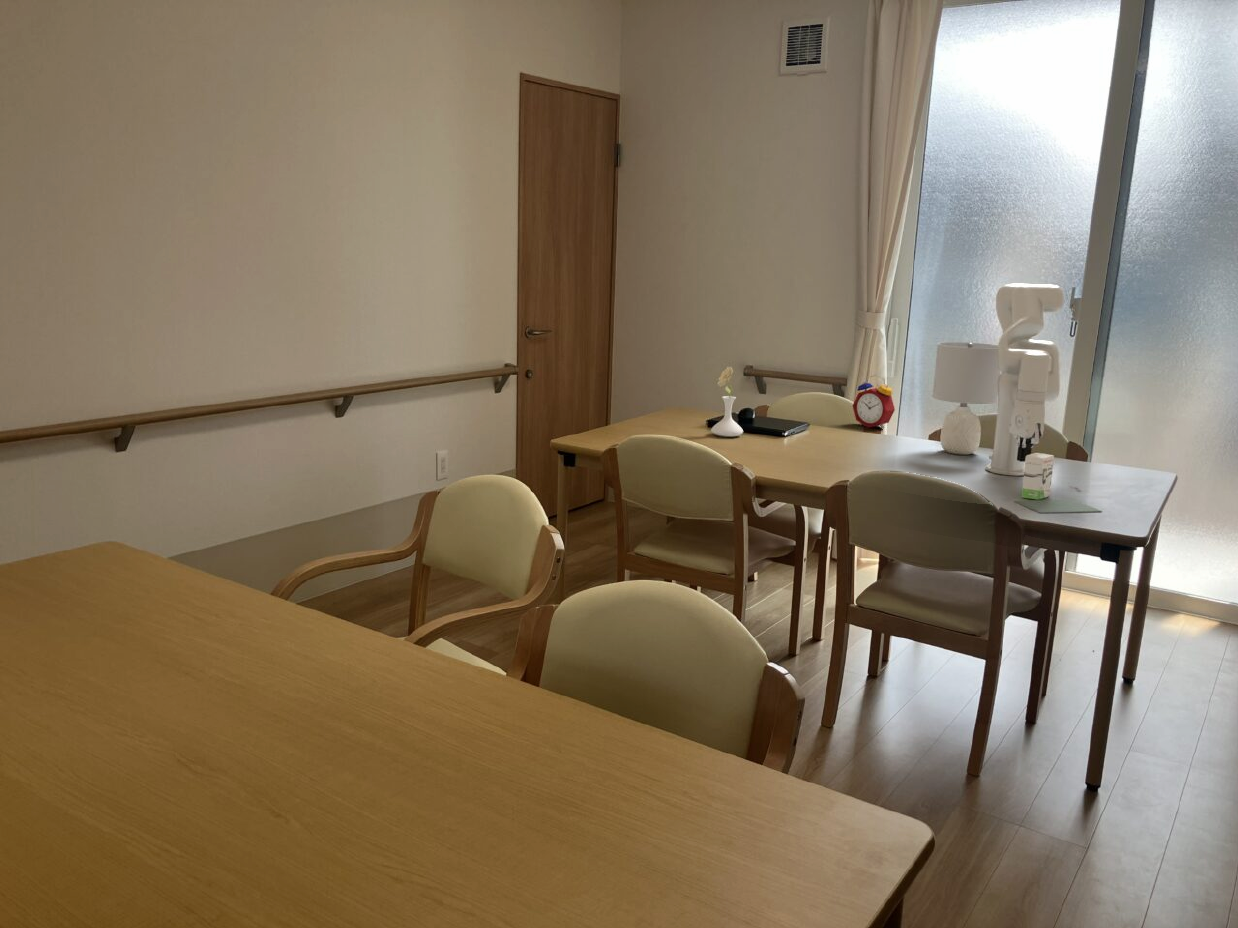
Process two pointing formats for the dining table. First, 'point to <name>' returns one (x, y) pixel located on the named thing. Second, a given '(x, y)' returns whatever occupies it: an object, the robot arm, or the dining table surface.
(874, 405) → the alarm clock
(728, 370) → the flower in vase
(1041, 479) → the ink box
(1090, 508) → the felt mat
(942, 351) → the lamp
